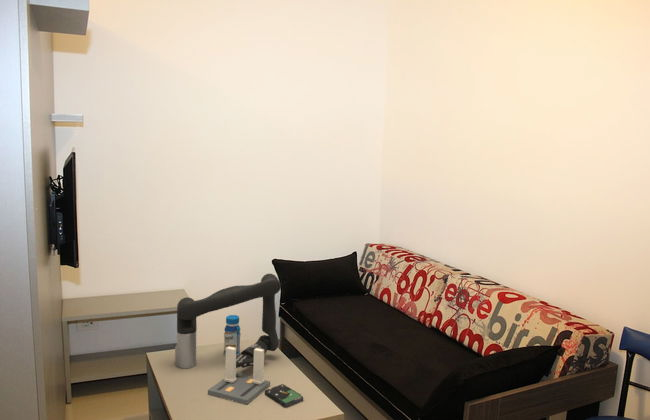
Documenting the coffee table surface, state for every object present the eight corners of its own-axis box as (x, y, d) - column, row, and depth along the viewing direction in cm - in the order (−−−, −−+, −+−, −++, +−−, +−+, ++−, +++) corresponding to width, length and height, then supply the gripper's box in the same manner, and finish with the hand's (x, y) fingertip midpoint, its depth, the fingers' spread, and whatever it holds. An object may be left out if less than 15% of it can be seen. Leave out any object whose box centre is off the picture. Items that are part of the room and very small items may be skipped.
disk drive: (264, 396, 233) (285, 409, 222) (264, 390, 232) (285, 402, 222) (282, 389, 240) (303, 401, 229) (282, 383, 239) (304, 395, 229)
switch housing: (207, 394, 231) (207, 389, 231) (233, 376, 249) (233, 372, 249) (247, 404, 223) (247, 400, 223) (270, 385, 241) (270, 381, 241)
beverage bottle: (243, 354, 275) (244, 317, 273) (230, 358, 269) (230, 320, 266) (233, 349, 281) (234, 313, 278) (220, 353, 275) (221, 316, 272)
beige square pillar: (224, 380, 239) (224, 348, 237) (228, 377, 242) (229, 345, 240) (232, 383, 237) (233, 350, 235) (236, 379, 240) (237, 347, 238)
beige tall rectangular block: (251, 382, 238) (252, 350, 236) (256, 379, 241) (256, 347, 239) (260, 384, 237) (261, 352, 235) (264, 381, 240) (265, 349, 238)
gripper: (240, 344, 258) (219, 356, 242) (263, 349, 253) (244, 362, 237) (239, 358, 259) (219, 372, 243) (263, 364, 254) (244, 378, 238)
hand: (232, 367), depth 240 cm, fingers closed
